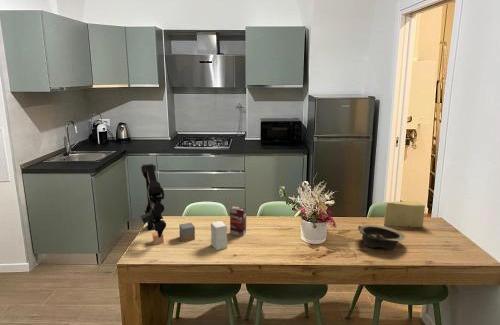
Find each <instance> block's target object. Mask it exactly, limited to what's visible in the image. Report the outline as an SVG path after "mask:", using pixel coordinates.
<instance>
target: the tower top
mask: <svg viewBox="0 0 500 325" xmlns="http://www.w3.org/2000/svg"><path fill="white" fill-rule="evenodd" d="M195 228H196V227H195V225H194V224H193V223H192V222H187V223H186V222H185V223H180V224H179V231H180V232H181V234H182V235H189V234H194V233H195V234H196V229H195Z"/></svg>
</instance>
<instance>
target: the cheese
mask: <svg viewBox="0 0 500 325" xmlns="http://www.w3.org/2000/svg"><path fill="white" fill-rule="evenodd" d="M425 209H426V206H425V203H423V202H422V201H420V200H402V201H387V202H386V206H385V209H384V210H385V211H384V218H383V224H384V226H390V225H391V226H392V227H394V226H396V227H408V226H409V227H412V228H421V227H422V228H423V227H424V220H425V219H424V218H425V211H426V210H425Z"/></svg>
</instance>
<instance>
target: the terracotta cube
mask: <svg viewBox="0 0 500 325" xmlns="http://www.w3.org/2000/svg"><path fill="white" fill-rule="evenodd" d="M151 234H152V242H153V244H154V245H159V244H165V242H164V240H165V239H164V232H163V233H162V235H161V237H158V233H157V231H155V232H152V233H151Z"/></svg>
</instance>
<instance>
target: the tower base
mask: <svg viewBox="0 0 500 325" xmlns="http://www.w3.org/2000/svg"><path fill="white" fill-rule="evenodd" d="M195 236H196V232H195V233H194V234H189V235H182V234H181V232H180V230H179V238H180V240H181V241H182V243H183V242H189V241H194V240H196V237H195Z"/></svg>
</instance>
